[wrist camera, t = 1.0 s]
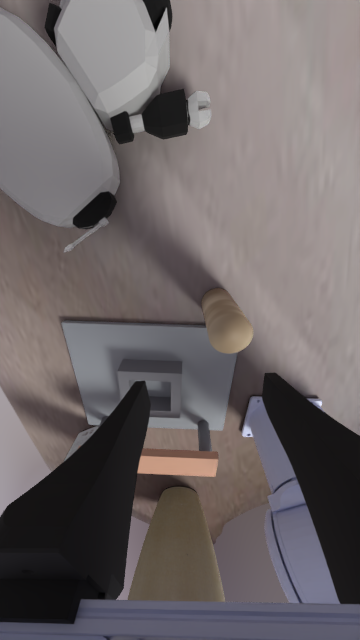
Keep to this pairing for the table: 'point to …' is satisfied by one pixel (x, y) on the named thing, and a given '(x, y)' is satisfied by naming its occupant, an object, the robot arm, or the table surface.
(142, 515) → the table surface
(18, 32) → the robot toy
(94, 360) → the socket station
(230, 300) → the peg
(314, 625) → the robot arm
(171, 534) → the plant pot
